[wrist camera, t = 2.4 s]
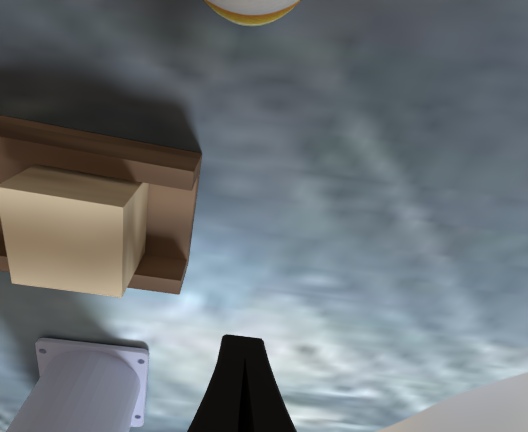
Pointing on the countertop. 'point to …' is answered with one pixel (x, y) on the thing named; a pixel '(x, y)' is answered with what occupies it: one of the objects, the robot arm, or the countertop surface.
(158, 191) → the brown channel
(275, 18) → the supplement bottle
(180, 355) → the countertop surface
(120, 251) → the maple block
